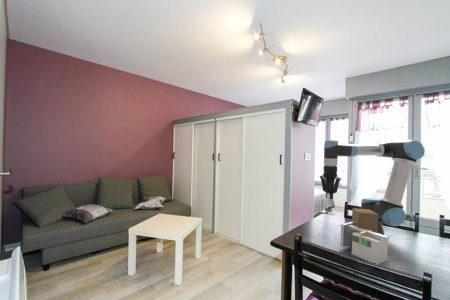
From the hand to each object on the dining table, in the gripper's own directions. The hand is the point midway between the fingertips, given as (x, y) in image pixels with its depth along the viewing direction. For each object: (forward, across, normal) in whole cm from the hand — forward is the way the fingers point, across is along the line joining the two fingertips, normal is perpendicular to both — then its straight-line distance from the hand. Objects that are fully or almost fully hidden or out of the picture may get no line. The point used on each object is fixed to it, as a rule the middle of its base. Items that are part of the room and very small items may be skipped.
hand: (329, 203), depth 128 cm
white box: (+22, +23, 0) cm, 32 cm away
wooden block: (+22, +14, +13) cm, 29 cm away
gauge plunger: (+20, +21, 0) cm, 29 cm away
